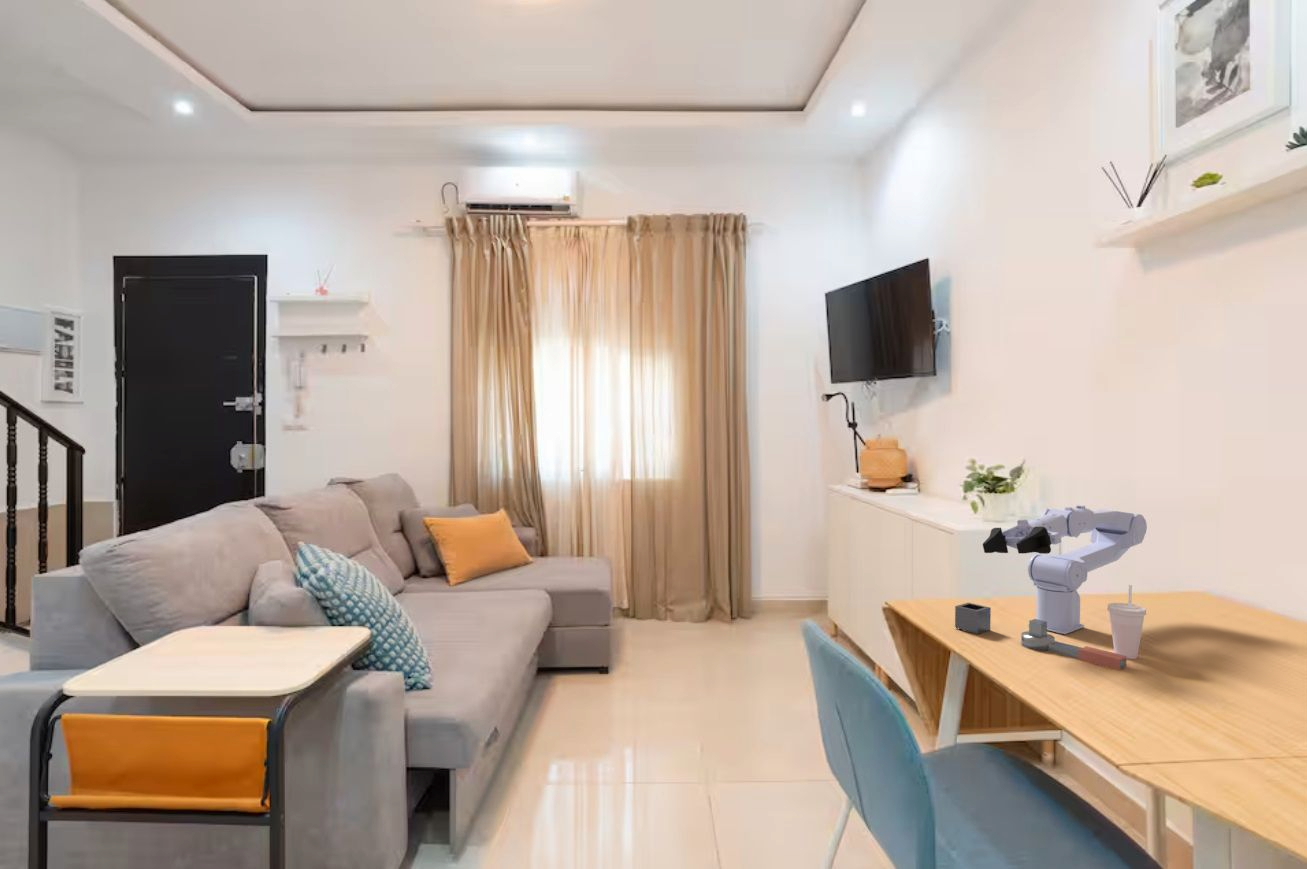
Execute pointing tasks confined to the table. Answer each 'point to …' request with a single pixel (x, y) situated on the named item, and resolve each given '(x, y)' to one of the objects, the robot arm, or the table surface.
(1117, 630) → the smoothie
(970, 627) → the hollow square tube
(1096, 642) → the table surface
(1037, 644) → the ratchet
